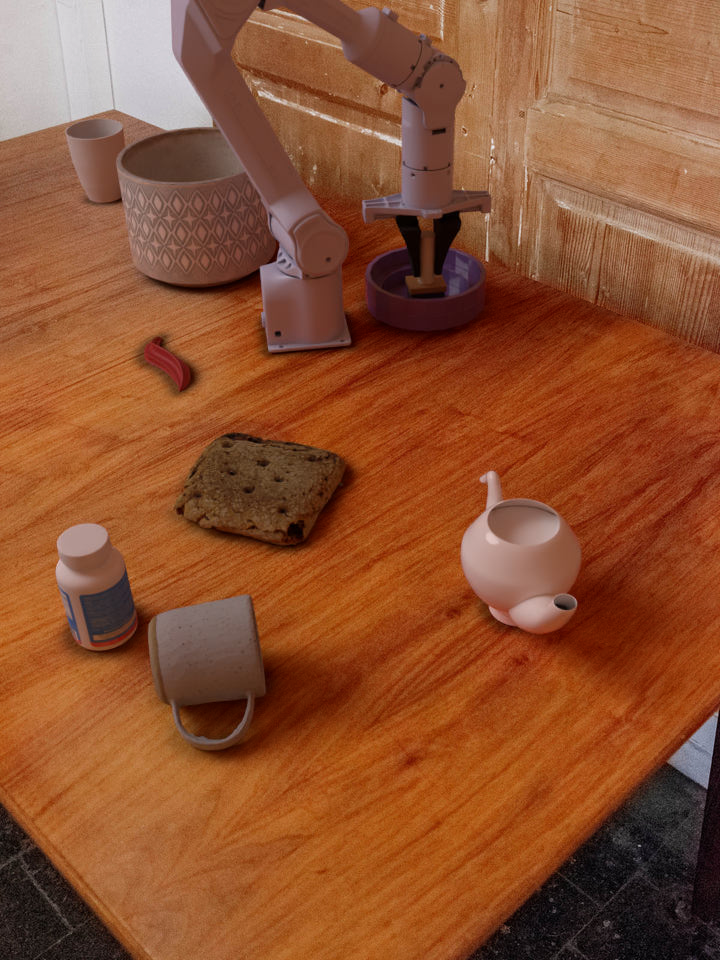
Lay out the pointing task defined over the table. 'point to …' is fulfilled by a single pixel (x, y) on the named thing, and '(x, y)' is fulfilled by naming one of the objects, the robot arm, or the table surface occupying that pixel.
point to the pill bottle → (95, 588)
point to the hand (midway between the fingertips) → (426, 272)
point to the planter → (192, 209)
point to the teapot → (522, 561)
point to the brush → (426, 272)
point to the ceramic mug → (207, 660)
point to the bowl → (425, 314)
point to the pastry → (260, 487)
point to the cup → (97, 156)
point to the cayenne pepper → (167, 363)
